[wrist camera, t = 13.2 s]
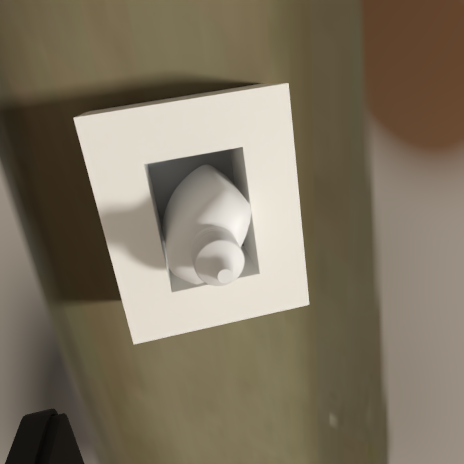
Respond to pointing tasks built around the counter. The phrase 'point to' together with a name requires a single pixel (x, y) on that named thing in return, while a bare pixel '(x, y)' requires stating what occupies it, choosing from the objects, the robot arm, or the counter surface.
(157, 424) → the counter surface
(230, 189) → the eye dropper bottle
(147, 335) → the keyed holder
